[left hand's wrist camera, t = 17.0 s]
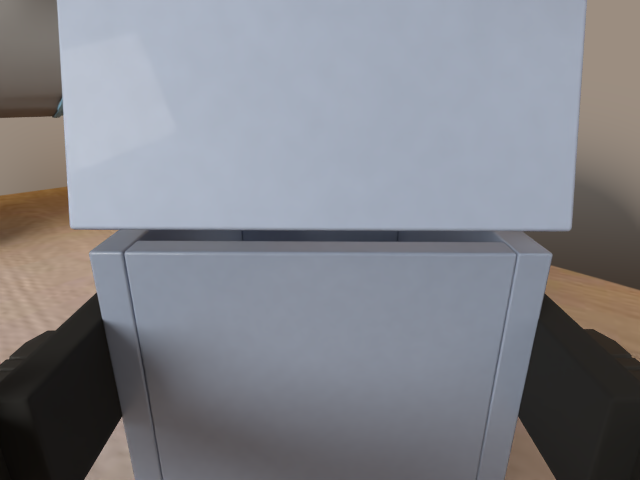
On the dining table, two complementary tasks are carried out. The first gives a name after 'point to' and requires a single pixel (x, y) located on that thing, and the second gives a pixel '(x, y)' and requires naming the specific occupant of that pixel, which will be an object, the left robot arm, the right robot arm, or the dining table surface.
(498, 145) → the lid
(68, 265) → the dining table surface
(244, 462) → the chest
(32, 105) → the right robot arm
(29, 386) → the left robot arm
